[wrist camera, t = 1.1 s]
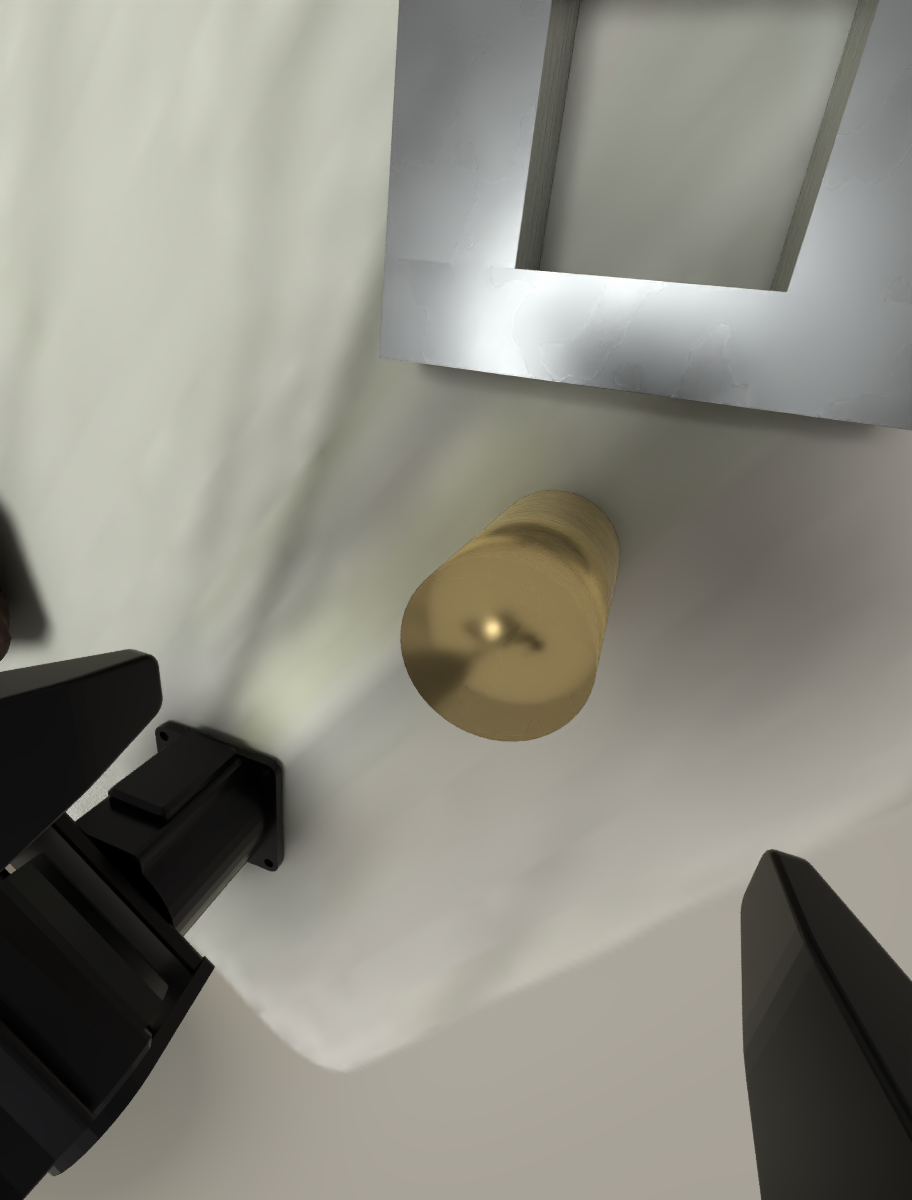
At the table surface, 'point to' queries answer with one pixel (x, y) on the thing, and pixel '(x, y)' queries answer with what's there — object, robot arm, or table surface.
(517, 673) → the tan rectangular block
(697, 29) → the table surface
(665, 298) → the metal square frame
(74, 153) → the table surface
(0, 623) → the dark brown rounded lump
